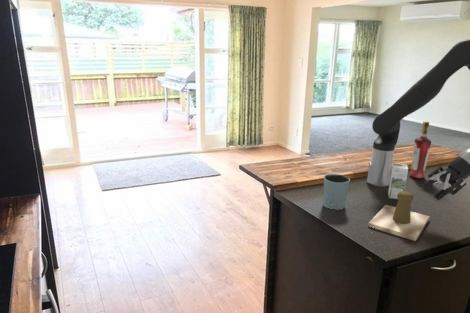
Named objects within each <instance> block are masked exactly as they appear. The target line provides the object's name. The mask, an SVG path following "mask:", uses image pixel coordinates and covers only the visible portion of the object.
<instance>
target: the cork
mask: <svg viewBox="0 0 470 313" xmlns="http://www.w3.org/2000/svg"><path fill="white" fill-rule="evenodd" d="M397 198H398V200H397V203H396V206H395V207H396V209H395V212H394V215H393V220H394V221H395V222H397V223H401V224H408V223H410V214H411V212H412V210H411V206H412V201H413V200H414V194H413V193H412V192H410V191H406V190H405V191H400V192H399V193H398V195H397Z"/></svg>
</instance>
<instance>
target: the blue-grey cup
mask: <svg viewBox="0 0 470 313" xmlns="http://www.w3.org/2000/svg"><path fill="white" fill-rule="evenodd" d="M350 183H351V179H350V177H348V176H346V175H343V174H337V173H330V174H325V175H324V176H323V199H322V203H323V204H324V205H325V206H326V207H329V208H332V209H342V208H344V209H345V208H346V202H347V198H348V192H349V186H350ZM324 205H323V206H324ZM325 206H324V207H325ZM326 207H325V208H326ZM342 210H343V209H342Z"/></svg>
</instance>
